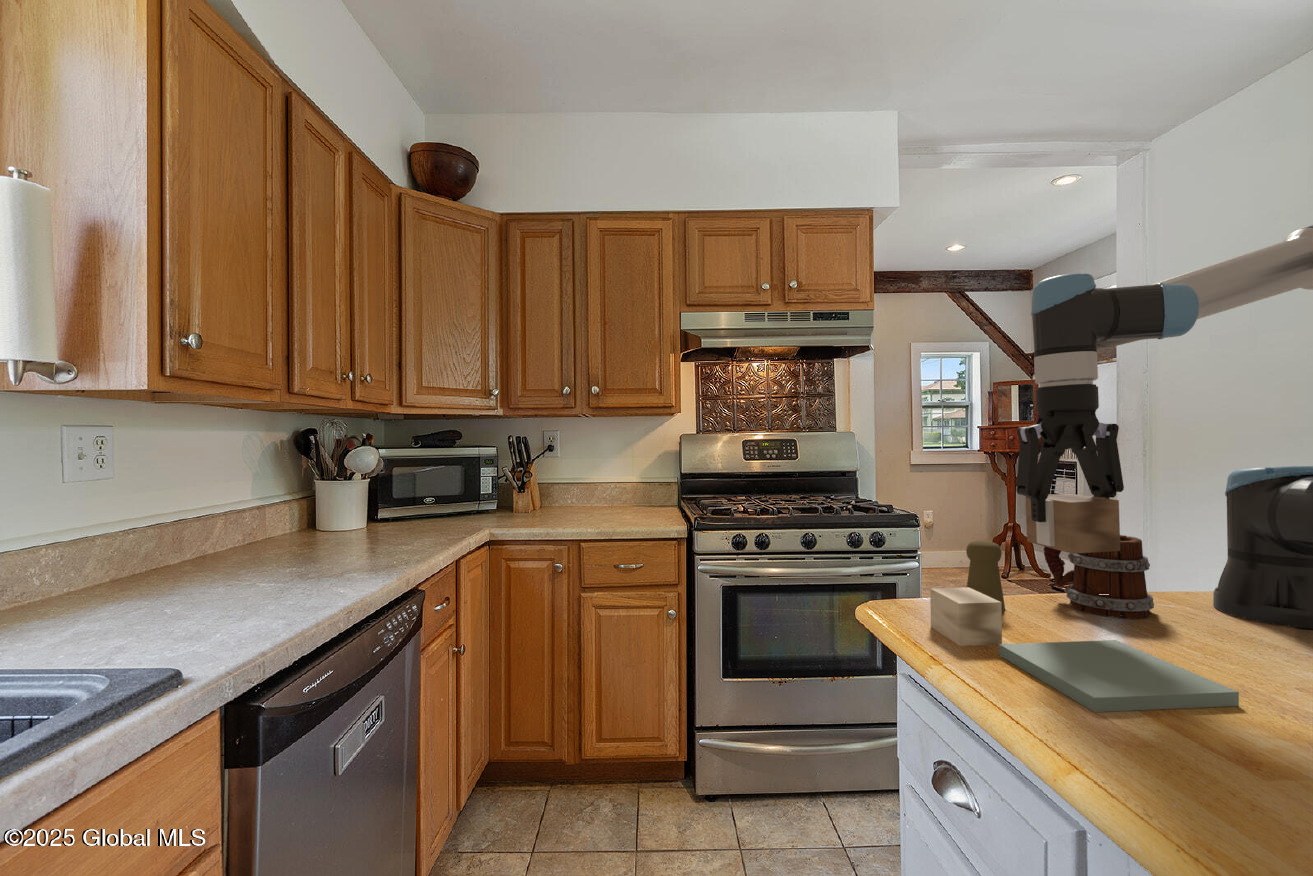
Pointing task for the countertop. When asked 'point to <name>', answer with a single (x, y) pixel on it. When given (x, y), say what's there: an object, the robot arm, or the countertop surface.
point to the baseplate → (1116, 676)
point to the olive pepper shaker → (985, 569)
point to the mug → (1106, 580)
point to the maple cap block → (966, 616)
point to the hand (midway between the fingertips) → (1071, 542)
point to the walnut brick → (1081, 524)
